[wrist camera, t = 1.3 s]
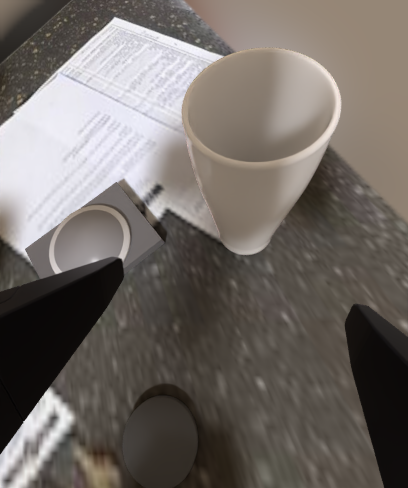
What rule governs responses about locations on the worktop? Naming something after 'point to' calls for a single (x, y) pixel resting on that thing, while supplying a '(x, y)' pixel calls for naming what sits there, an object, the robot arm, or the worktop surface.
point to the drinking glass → (257, 138)
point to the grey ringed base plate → (96, 236)
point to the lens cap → (160, 442)
